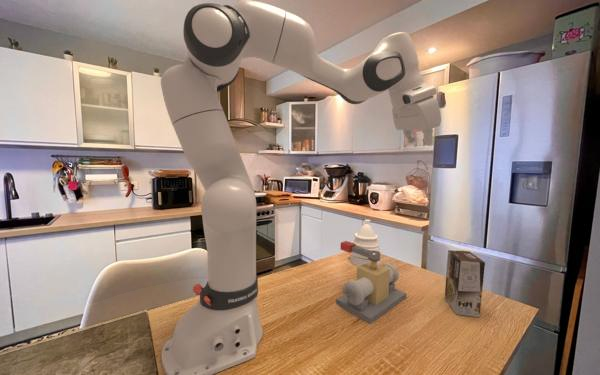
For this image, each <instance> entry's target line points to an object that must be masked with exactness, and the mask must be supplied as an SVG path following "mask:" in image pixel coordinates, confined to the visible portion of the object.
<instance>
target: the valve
mask: <svg viewBox="0 0 600 375" xmlns="http://www.w3.org/2000/svg"><path fill="white" fill-rule="evenodd" d="M356 267H357V268H356V280H355V279H352V280H349V281H347V282H346V283H345V284H344V286H343V292H344V294H342V295H341V296H339V297H337V298H336V299H335V304H336V305H338V306H340V307H341V308H342V309H345V310H346V311H348V312H349V313H351V314H353V315H354V316H356V317H358V318H360V319H361V320H362V321H364V322H366V323H368V324H370V325H371V324H372V323H373V322H375V321H376V320H378V319H379V318H380V317H381V316H383V315H384V314H386V313H387V312H388V311H390V310H391V309H392V308H394V307H395V306H397V305H398V304H400V303H401V302H402V301H403V300H405V299H406V298H407V293H406V292H404V291H403V290H400V289H397V288H395V287H396V284H395V283H396V282H397V281H399V278H400V277H399V276H400V275H399V274H400V273H399V271H398V269H397V268H396V266H394V265H393V264H392V263H388V262H387V263H383V264H382V265H378V264H377V261H371V262H368V263H366V264H364V265H362V266H356Z"/></svg>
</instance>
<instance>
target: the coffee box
mask: <svg viewBox="0 0 600 375" xmlns="http://www.w3.org/2000/svg"><path fill="white" fill-rule="evenodd" d="M485 267H486V262H485V261H484V260H482V259H481V258H479V257H478V256H477V255H475V254H474V253H472V252H471V251H467V250H449V249H448V250H447V260H446V274H445V287H444V289H445V290H444V299H445V301H446V302H447V304H448V305H449V306H450V308H451V309H452V311H453V312H454V313H455V314H456V315H458V316H459V315H460V316H468V317H472V318H473V317H475V318H480V315H481V305H482V296H483V285H484V278H485V276H484V275H485Z"/></svg>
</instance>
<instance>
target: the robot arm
mask: <svg viewBox="0 0 600 375" xmlns="http://www.w3.org/2000/svg"><path fill="white" fill-rule="evenodd" d="M183 22H184V23H183V33H182V34H183V39H184V43H185V45H186V50H187V57H186V60H185V61H183V62H182V63H180V64H175V65H173V66H171V67H169V68H168V69H166V70H165V71H164V72H163V73H162V75H161V78H160V86H161V92H162V96H163V101H164V105H165V108H166V111H167V114H168V117H169V120H170V123H171V125H172V128H173V129H174V131H175V132H174V133H175V134H176V137H177V139H178V141H179V144H180V147H181V149H182V152H183V153H184V156H185V158H186V161H187V163H188V164H189V165H190V166H191V168H192V170H193V171H194V173H195V174H196V176H197V178H198V180H199V182H200V183H201V185H202V187H203V188H204V190H205V191H204V193H203V195H202V198H201V202H200V203H201V204H200V211H201V212H200V213H201V216H202V217H201V218H202V226H203V233H204V240H205V244H206V251H207V253H206V254H207V282H206V283H205V286H204V287H203V286H202V285H201V284H200V283H196V284H194V286H193V287H192V291H193V293H194V294H195V295H196V296H199V300H198V301H197V302H196V303H195V304H194V305H193V306H192V307H191V308H190V309H189V310H188V311H187V312H186V313H185V314H184V315H183V316H182V317H181V318H180V319H178V321H177V322H176V324H175V327H174V329H173V330H174V331H173V334H172V337H171V338H169V339H168V340H166V341H165V343H164V345H163V347H162V349H161V357H160V358H161V359H160V360H161V365H162V369H163V371H164V373H165V375H214V374H215V375H216V374H218V373H219V372H222V371H224V370H227V369H230V368H232V367H235V366H236V365H237V366H238V365H239V364H242V363H244V362H248V361H250V360H252V359H254V358H255V357H256V355H257V349H258V345H259V344H260V341H261V339H262V337H263V334H264V329H263V325H262V323H261V319H260V314H259V309H258V308H259V307H258V295H259V283H258V282H259V281H258V280H259V279H258V276H257V199H256V192H255V189H254V186H253V184H252V181H251V178H250V176H249V174H248V171H247V169H246V166H245V164H244V161H243V159H242V158H243V157H242V155H241V154H240V151H239V148H238V145H237V144H236V140H235V137H234V136H233V132H232V130H231V127H230V124H229V122H228V120H227V117H226V113H225V111H224V108H223V107H222V106H223V105H222V104H221V101H220V98H219V95H218V93H219V92H220V91H222V90H223V89H225V88H227V87H229V86H230V85H232V84H233V83H234V81H235V80H236V79H237V77H238V75H239V70H240V66H241V62H242V60H243V59H247V58H255V59H261V60H263V61H265V62H267V63H271V64H273V65H275V66H278V67H281V68H283V69H286V70H289V71H291V72H294V73H296V74H298V75H300V76H301V77H304V78H306V79H307V80H310V81H312V82H314V83H316V84H319V85H321V86H322V87H325V88H327V89H330V90H332V91H334V92H335V93H336V94H338V95H339V96H340V97H341V99H343V100H344V101H345V102H347V103H348V104H350V105H359V104H362V103H364V102H365V101H367V100H369V99H371V98H373V97H376V96H379V95H380V94H383V93H385V92H387V91H388V94H389V99H390V102H391V106H392V108H391V113H392V120H393V123H394V128H395V129H396V130H398V131H402V133H403V134H404V137H405V138H406V141H407V143H408V144H413V143H415V142H416V137H415V135H414V134H413V132H412V131H421V132H422V134H423V139H422V142H423V145H424V146H430V145H433V143H434V141H433V133H434V128H437V127H440V126H441V123H442V114H441V111H440V110H441V109H440V106H439V102H438V99H437V97H435V95H436V94H438V93H437V87H436V86H435V85H432V84H428V83H426V82H424V79H423V76H422V74H421V73H420V69H419V63H420V62H419V58H418V54H417V50H416V47H415V44H414V41H413V39H412V38H411V36H410V34H409V33H407V32H405V31H397V32H393V33H391V34H388V35H385V36H384V37H382V38H381V39H380V40H379V41H378V43H377V46H376V47H375V49H374V50H373V51H372V52H371V53H370V54H369V55H368V56H366V58H364V59H363V60H362V61H361V62H359V63H358V64H356V65H355V66H354V67H350V68H342V67H340V66H338V65H336V64H334V63H332V62H331V61H328V60H326V59H324V58H323V57H322V56H321V55H319V53H318V52H317V47H316V46H317V45H316V44H317V41H316V36H315V33H314V30H313V28H312V27H311V24H310V23H308V22H307V21H306V20H304V18H302V17H300V16H298V15H297V14H294V13H292V12H289V11H287V10H285V9H283V8H280V7H277V6H274V5H271V4H268V3H265V2H262V1H258V0H239V1H237V2H236V4H234V5H233V7H232V6H231V5H228V4H227V5H226V4H225V5H221V4H218V3H213V2H212V3H211V2H210V3H207V2H206V3H199V4H197V5H195V6H193V7H192V8H191V9H189V11H187V14H186V16H185V18H184V21H183Z"/></svg>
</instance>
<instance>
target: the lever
mask: <svg viewBox="0 0 600 375" xmlns="http://www.w3.org/2000/svg"><path fill="white" fill-rule="evenodd" d="M339 248H340V250H341V251H344V252H346V253H351V252H354V253H357V254H359V255H362V256H365V257H368V259H369V260H371V261H380V252H378V251H374V250H371V251H370V250H367V249H364V248H361V247H358V246H356V244H354V243H353V242H351V241H347V240H345V241H342V242H340V247H339Z"/></svg>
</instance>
